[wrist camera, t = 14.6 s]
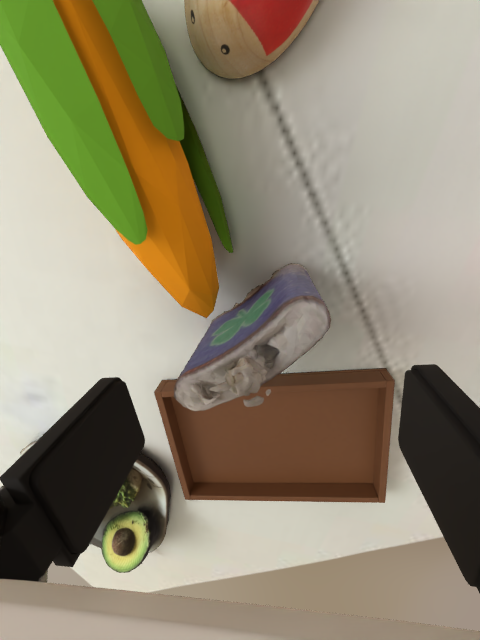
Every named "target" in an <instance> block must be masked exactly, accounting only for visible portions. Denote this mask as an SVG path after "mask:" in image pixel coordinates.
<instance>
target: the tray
mask: <svg viewBox="0 0 480 640" xmlns="http://www.w3.org/2000/svg"><path fill="white" fill-rule="evenodd" d="M176 381H177V379H176V380H162V381H161V383H160V384H159V386H158V387H157V389H156V390H155V392H154V393H155V397H156V400H157V403H158V407H159V410H160V414H161V417H162V421H163V424H164V428H165V431H166V435H167V438H168V441H169V445H170V448H171V452H172V455H173V459H174V462H175V466H176V469H177V473H178V476H179V479H180V483H181V486H182V490H183V493H184V497H185V500H246V501H312V502H379V503H385V496H386V484H387V471H388V459H389V446H390V434H391V421H392V409H393V396H394V384H395V381H394V379H393V378H392V376H391V375H390V374H389V372H388V371H387V369H386V368H381V369H363V370H344V371H325V372H307V373H288V374H278V375H276V376H275V377H274V378H273V379H271V380H269V381H268V382H266V383H264V384H263V385H262V386H261V387H260V389H259V391H258V392H257V393H250V395H249V396H241V397H238V398H236V399H233V400H231V401H228V402H226V403H222V404H219V405H217V406H215V407H212V408H210V409H207V410H204V411H193V410H190V409H188V408H185V407H183V406H182V404H181V403H179V402H178V401H177V400H176V399H175V398H174V385H175V383H176ZM268 389H270V390H271V393H270V394H269V396H267V395H266V391H267V390H268ZM256 396H260V397H263V398H264V401H263V403H262V404H261V405H258V406H253V407H247V406H245V405H244V402H243V400H250V399H252V398H254V397H256Z"/></svg>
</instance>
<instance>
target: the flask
mask: <svg viewBox="0 0 480 640" xmlns="http://www.w3.org/2000/svg"><path fill="white" fill-rule="evenodd" d="M272 275H273V276H272V277H271V279H270V280H268V281H267V282H265V283H264V284H262V285H261V286H257V287H256V288H255V289H252V290H251V292H249V293H248V294H247V296H246V298H245V299H244V301H243V302H242V303H240V304H238V303H236V304H235V305H234V307H233V309H231V310H230V311H226V312H225V311H224V313H223V314H221V315H219V316H218V317H216V318H215V319H213V320H212V322H211V324H210V327H209V329H208V330H207V332H206V333H205V335H204V337H203V338H202V340H201V341H200V343H199V345H198V347H197V348H196V350H195V352H194V353H193V355H192V356H191V358H190V360H189V361H188V363H187V364H186V366H185V368H184V370H183V371H182V372H181V374H180V376H179V377H178V379H177V381H176V383H175V385H174V398H175V399H176V400H177V401H178V402H179V403H181V404H182V406H183V407H185V408H188V409H190V410H193V411H204V410H207V409H210V408H212V407H215V406H217V405H219V404H222V403H226V402H228V401H231V400H233V399H236V398H238V397H241V396H249V395H250V393H257V392H258V391H259V389H260V387H261V386H262V385H263V384H264V383H266V382H268V381H269V380H271V379H273V378H274V377H275V376H276V375H278V374H280V373H281V372H282V371H283V370H285V369H286V368H288V367H289V366H290V365H291V364H293V363H294V362H295V361H296V360H297V359H298V358H299V357H300V356H302V355H303V354H305V353H306V352H307V351H309V350H310V349H311V348H312V347H313V346H314V345H315V344H316V343H317V342H318V341H319V340H320V339H322V338H323V336H324V334H325V333H326V332H327V331H328V329H329V328H330V324H331V318H330V313H329V311H328V309H327V306H326V305H325V303H324V301H323V299H322V298H321V296H320V295H319V293H318V291H317V289H316V288H315V286H314V284H313V282H312V280H311V278H310V276H309V274H308V272H307V270H306V269H305V268H304V267H303V266H302V265H299V264H288V265H286V266H284V267H283V268H281V269H280V270H278V271H275V273H273V274H272ZM270 393H271V390H270V389H268V390H267V391H266V395H267V396H269V394H270ZM263 401H264V398H263V397H260V396H256V397H254V398H252V399H250V400H243V402H244V405H245V406H247V407H253V406H258V405H261V404H262V403H263Z"/></svg>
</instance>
